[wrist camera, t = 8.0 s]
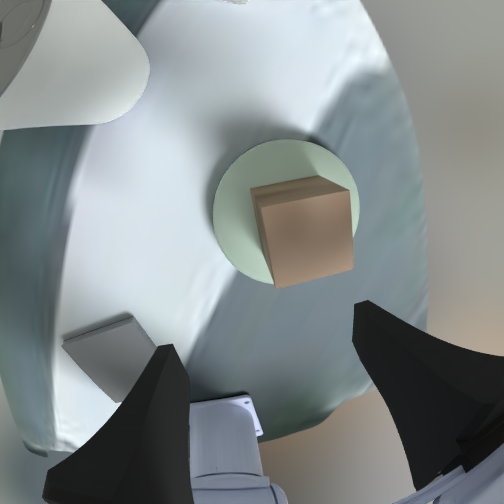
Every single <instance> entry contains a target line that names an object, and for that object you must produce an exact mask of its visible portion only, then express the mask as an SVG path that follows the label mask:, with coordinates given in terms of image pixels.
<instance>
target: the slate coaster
mask: <svg viewBox="0 0 504 504" xmlns="http://www.w3.org/2000/svg"><path fill="white" fill-rule="evenodd" d="M62 347H63V349H64V350H65V351H66V352H67V353H68V354H69V356H70V357H71V358H72V359H73V360H74V361H75V362H76V363H77V365H78V366H79V367H80V368H81V369H82V370H83V371H84V372H85V373H86V374H87V375H88V376H89V377H90V378H91V379H92V380H93V381H94V383H95V384H96V385H97V386H98V387H99V388H101V389H102V390H103V391H104V392H105V393H106V394H107V395H108V396H109V397H110V398H111V399H112V400H113V401H114V402H115V403H118V402H123V401H124V399H125V398H126V396H127V395H128V393H129V392H130V391H131V389H132V388H133V386H134V384H135V383H136V381H137V380H138V378H139V376H140V375H141V373H142V372H143V370H144V368H145V367H146V365H147V363H148V362H149V360H150V358H151V357H152V355H153V353H154V352H155V350H156V349H157V347H156V346H155V345H154V343H153V342H152V341H151V339H150V338H149V337H148V335H147V334H146V333H145V331H144V330H143V329H142V327H141V326H140V325H139V323H138V322H137V320H136V319H135V318H134V317H131V318H128V319H125V320H123V321H120V322H117V323H114V324H111V325H108V326H106V327H103V328H100V329H97V330H94V331H91V332H89V333H86V334H83V335H80V336H77V337H74V338H71V339H68V340H65V341H64V342H63V344H62Z"/></svg>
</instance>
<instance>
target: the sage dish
mask: <svg viewBox="0 0 504 504" xmlns="http://www.w3.org/2000/svg"><path fill="white" fill-rule="evenodd" d="M317 175H320V176H322V177H324V178H326V179H328V180H330V181H332V182H334V183H336V184H338V185H340V186H342V187H344V188H346V189H348V190H350V199H351V213H352V231H353V236H354V234H355V231H356V228H357V224H358V219H359V196H358V191H357V188H356V185H355V182H354V180H353V177H352V176H351V174H350V172H349V170H348V169H347V168H346V166H345V165H344V164H343V162H342V161H341V160H340V159H338V158H337V157H336V156H335V155H334V154H333V153H331V152H330V151H328V150H327V149H325V148H323V147H321V146H319V145H316V144H313V143H311V142H306V141H301V140H292V139H281V140H273V141H269V142H265V143H262V144H259V145H257V146H255V147H253V148H251V149H249V150H247V151H246V152H245V153H243V154H242V155H241V156H239V157H238V158H237V159H236V160H235V161H234V162H233V163H232V164H231V165H230V167H229V168H228V169H227V170H226V172H225V173H224V175H223V177H222V179H221V180H220V183H219V185H218V187H217V190H216V194H215V198H214V205H213V225H214V231H215V235H216V238H217V242H218V244H219V246H220V248H221V250H222V252H223V253H224V255H225V256H226V258H227V259H228V260H229V261H230V262H231V264H232V265H233V266H234V267H236V268H237V269H238V270H239V271H241V272H242V273H244V274H245V275H247V276H249V277H251V278H253V279H255V280H258V281H261V282H265V283H270V284H274V282H273V280H272V277H271V274H270V272H269V269H268V266H267V264H266V261H265V259H264V256H263V253H262V248H261V243H260V238H259V233H258V227H257V222H256V217H255V212H254V207H253V202H252V197H251V192H250V188H255V187H259V186H264V185H269V184H274V183H279V182H284V181H289V180H295V179H300V178H306V177H311V176H317Z"/></svg>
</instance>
